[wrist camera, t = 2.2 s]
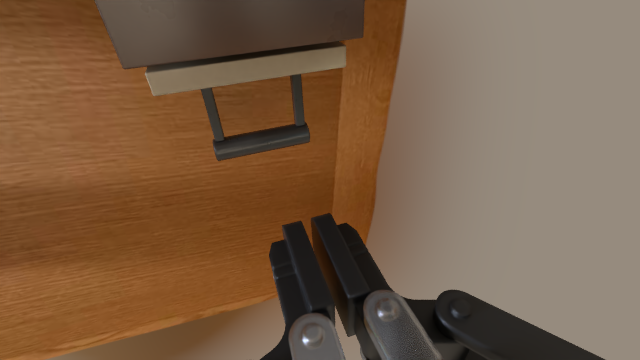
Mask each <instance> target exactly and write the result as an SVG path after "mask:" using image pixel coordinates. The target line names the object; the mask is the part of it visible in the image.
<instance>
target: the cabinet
mask: <svg viewBox="0 0 640 360" xmlns="http://www.w3.org/2000/svg"><path fill="white" fill-rule="evenodd" d="M94 1H95V3H96V5H97V8H98V10H99V12H100V15H101V17H102V20H103V22H104V24H105V27H106V29H107V32H108V34H109V36H110V39H111V41H112V43H113V46H114V48H115V51H116V53H117V55H118V58H119V60H120V63H121V65H122V67H123V69H131V68H139V67H146V66H154V65H161V64H169V63H176V62H184V61H191V60H199V59H206V58H214V57H221V56H229V55H236V54H244V53H251V52H259V51H267V50H274V49H282V48H289V47H297V46H304V45H312V44H319V43H327V42H334V41H342V40H349V39H357V38H362V37H363V28H364V2H365V0H94Z"/></svg>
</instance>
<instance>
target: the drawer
mask: <svg viewBox="0 0 640 360" xmlns="http://www.w3.org/2000/svg"><path fill="white" fill-rule="evenodd" d="M342 67H346V45H344V44H342V43H341V42H339V41H334V42H327V43H319V44H312V45H304V46H297V47H289V48H282V49H274V50H267V51H259V52H251V53H244V54H236V55H229V56H221V57H214V58H206V59H199V60H191V61H184V62H176V63H169V64H161V65H154V66H148V67H147V69H146V72H145V75H146V78H147V81H148V83H149V86H150V88H151V91H152V94H153V95H154V96H159V95H166V94H172V93H179V92H185V91H192V90H199V89H201V92H202V95H203V99H204V102H205V106H206V109H207V113H208V116H209V120H210V123H211V127H212V131H213V134H214V138H215V139H213V146H214V151H215V154H216V158H217V160H218V161H221V160H226V159H231V158H236V157H241V156H246V155H251V154H255V153H260V152H265V151H270V150H275V149H280V148H285V147H290V146H294V145H299V144H304V143H308V142H310V133H309V128H308V126H307V124H306V122H305V121H304V108H303V96H302V83H301V74H303V73H309V72H316V71H322V70H329V69H335V68H342ZM283 76H290V81H291V90H292V100H293V110H294V120H295V124H291V125H286V126H280V127H275V128H270V129H265V130H259V131H254V132H249V133H243V134H238V135H233V136H228V137H224V133H223V130H222V126H221V122H220V118H219V114H218V110H217V106H216V103H215V99H214V95H213V91H212V87H218V86H225V85H231V84H238V83H244V82H251V81H257V80H264V79H270V78H277V77H283Z"/></svg>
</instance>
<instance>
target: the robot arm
mask: <svg viewBox="0 0 640 360" xmlns="http://www.w3.org/2000/svg"><path fill="white" fill-rule="evenodd" d="M311 228H312V240H313V248H314V251H313V248H312V246H311V243H310V241H309V238H308V236H307V233H306V231H305V228H304V226H303V224H302V222H301V221H298V222H294V223H290V224H286V225H282V230H283V236H284V240H281V241H278V242H274V243H272V245H271V249H270V253H269V257H270V262H271V267H272V271H273V276H274V280H275V284H276V288H277V292H278V296H279V300H280V304H281V308H282V312H283V316H284V320H285V324H286V326H285V332H284V335H283V337H282V339H281V341H280V342H279V344H278V345H277V346H276V347H275V348H274V349H273V350H272V351H271V352H269V353H268V354H266V355H265V356H264V357H263V358H261V359H260V360H346V359H345V356H344V353H343V350H342V347H341V344H340V341H339V338H338V335H337V332H336V329H335V306H336V309H337V311H338V314H339V316H340V319H341V321H342V324H343V326H344V329H345V331H346V334H347V336H348V337H350V336H352V335H355V334H356V336H357V339H358V341H359V343H360V353H361V357H362V359H363V360H605V359H603V358H601V357H599V356H597V355H595V354H592V353H590V352H588V351H586V350H584V349H582V348H580V347H578V346H576V345H574V344H572V343H569V342H567V341H565V340H563V339H561V338H559V337H557V336H555V335H553V334H551V333H549V332H546V331H545V330H542V329H540V328H538V327H536V326H534V325H532V324H530V323H528V322H526V321H524V320H522V319H520V318H518V317H515V316H513V315H511V314H509V313H507V312H505V311H503V310H501V309H499V308H497V307H495V306H493V305H490V304H488V303H486V302H484V301H482V300H480V299H478V298H476V297H474V296H472V295H470V294H468V293H465V292H463V291H459V290H448V291H444V292H443V293H441V294H440V295H439V297H438V298H437V300H412V299H407V298H404V297H402V296H400V295H399V294H397V293H395V292H394V291H393V290H392V289H391V288H390V287H389V285H388V284H387V282H386V281H385V279H384V277H383V275H382V274H381V272H380V270H379V268H378V267H377V265H376V263H375V262H374V260H373V258H372V256H371V255H370V253H369V252H368V249H367V248H366V246H365V244H363V241H362V239H361V237H360V236H359V234H358V232H357V231H356V230H355V229H354V228H352V227H351V226H350V225H348V224H347V223H344V224H340V225H336V223H335V221H334V219H333V217H332V215H331V214H330V213H328V214H324V215H320V216H316V217H313V218H311ZM314 252H315V253H314Z"/></svg>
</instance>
